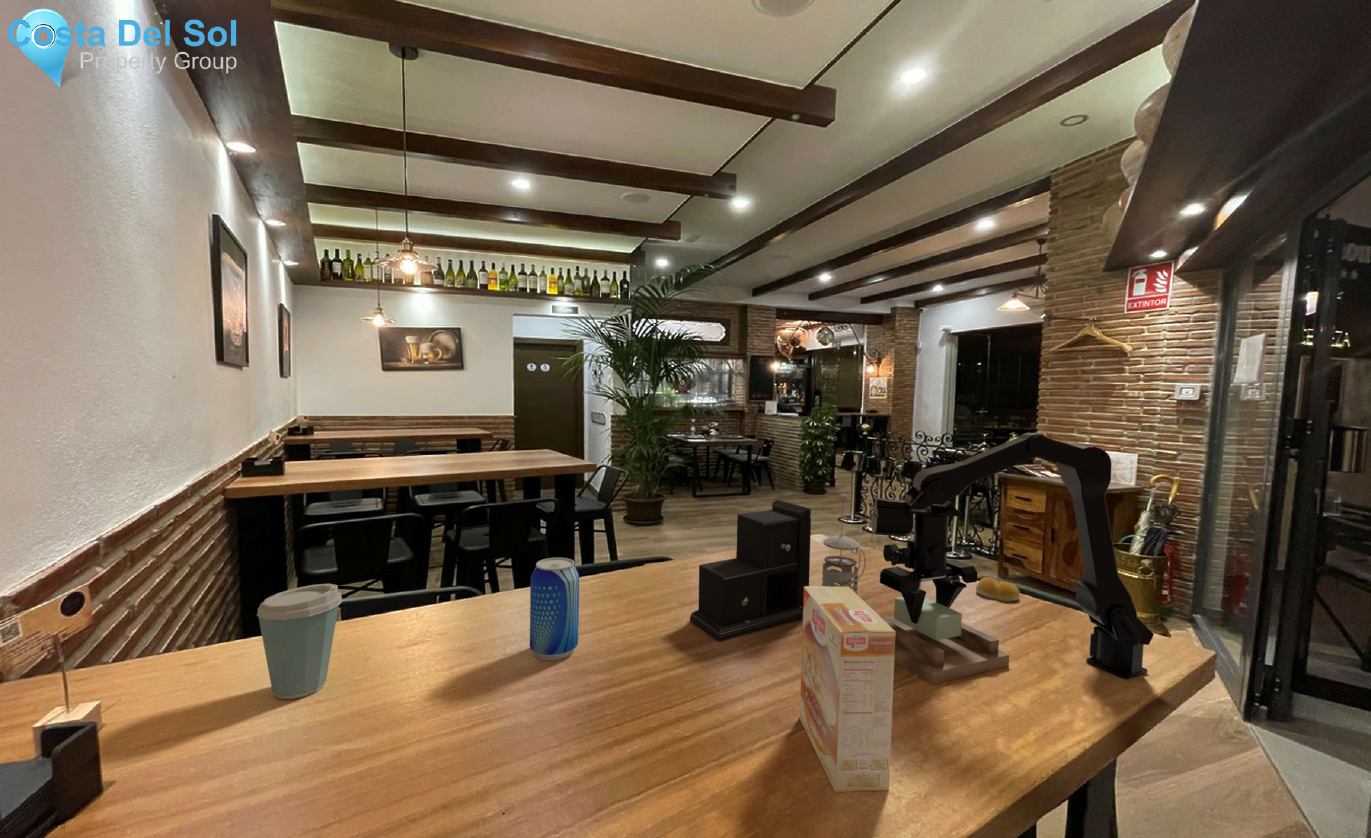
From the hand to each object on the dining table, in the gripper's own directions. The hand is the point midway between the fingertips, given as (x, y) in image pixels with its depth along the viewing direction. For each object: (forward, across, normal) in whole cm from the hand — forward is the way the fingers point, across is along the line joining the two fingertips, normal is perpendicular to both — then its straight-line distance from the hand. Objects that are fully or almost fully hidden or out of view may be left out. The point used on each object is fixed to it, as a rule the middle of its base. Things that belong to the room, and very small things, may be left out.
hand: (927, 620), depth 100 cm
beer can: (+5, +65, -22) cm, 69 cm away
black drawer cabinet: (+6, +25, -23) cm, 34 cm away
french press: (+6, 0, -24) cm, 25 cm away
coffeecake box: (+6, +34, +18) cm, 39 cm away
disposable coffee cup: (+5, +103, -23) cm, 106 cm away
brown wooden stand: (+5, 0, 0) cm, 5 cm away
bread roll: (+6, -39, -15) cm, 42 cm away
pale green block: (+1, 0, 0) cm, 1 cm away
